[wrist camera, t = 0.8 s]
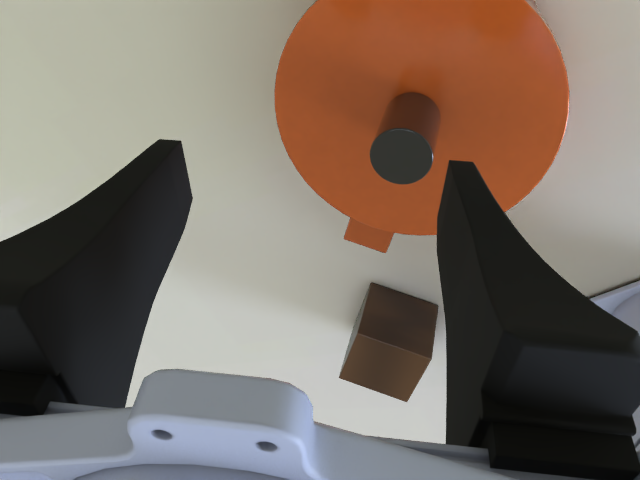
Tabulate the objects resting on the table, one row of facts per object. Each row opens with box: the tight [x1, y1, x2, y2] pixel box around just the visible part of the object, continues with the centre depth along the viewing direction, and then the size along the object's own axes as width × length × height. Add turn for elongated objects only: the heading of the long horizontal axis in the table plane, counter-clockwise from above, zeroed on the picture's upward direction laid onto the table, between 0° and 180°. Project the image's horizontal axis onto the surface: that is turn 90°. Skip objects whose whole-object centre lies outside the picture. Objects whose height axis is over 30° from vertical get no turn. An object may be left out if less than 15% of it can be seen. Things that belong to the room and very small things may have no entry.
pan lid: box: [275, 0, 569, 235], centre depth 23 cm, size 12×12×4 cm
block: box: [339, 283, 438, 402], centre depth 36 cm, size 4×4×4 cm
